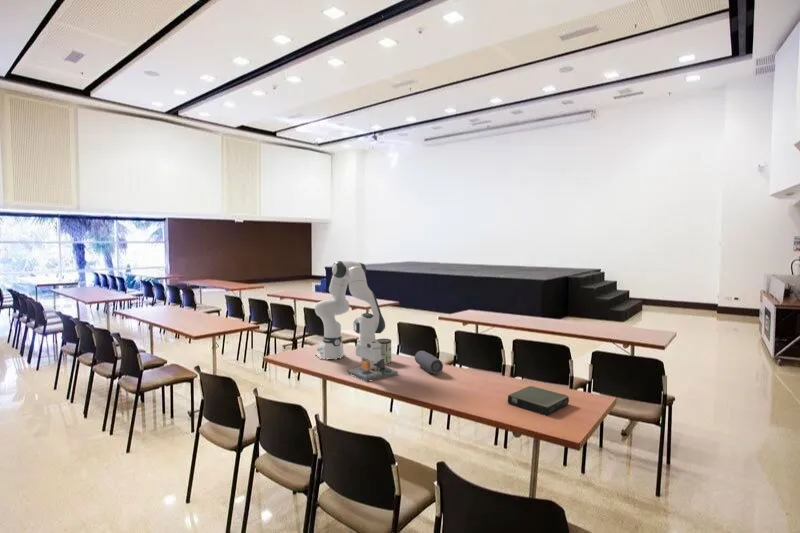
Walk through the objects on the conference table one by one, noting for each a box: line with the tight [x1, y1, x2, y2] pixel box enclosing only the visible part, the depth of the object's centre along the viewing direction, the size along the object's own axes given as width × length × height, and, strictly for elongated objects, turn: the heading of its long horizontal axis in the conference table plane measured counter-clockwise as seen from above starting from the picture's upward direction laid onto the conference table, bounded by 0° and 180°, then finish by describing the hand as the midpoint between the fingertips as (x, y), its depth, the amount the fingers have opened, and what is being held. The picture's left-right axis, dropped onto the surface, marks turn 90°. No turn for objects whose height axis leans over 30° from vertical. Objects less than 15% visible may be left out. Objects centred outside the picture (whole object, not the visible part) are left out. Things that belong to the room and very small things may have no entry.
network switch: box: [507, 385, 570, 417], centre depth 217 cm, size 23×24×5 cm
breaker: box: [377, 357, 385, 369], centre depth 269 cm, size 3×3×6 cm
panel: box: [346, 362, 398, 382], centre depth 264 cm, size 20×22×3 cm
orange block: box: [361, 360, 374, 370], centre depth 255 cm, size 5×5×4 cm
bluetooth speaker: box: [414, 350, 444, 375], centre depth 271 cm, size 23×9×10 cm, turn 22°
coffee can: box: [376, 338, 392, 365], centre depth 290 cm, size 10×10×14 cm
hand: (367, 366), depth 255 cm, fingers closed on orange block, 5 cm apart
